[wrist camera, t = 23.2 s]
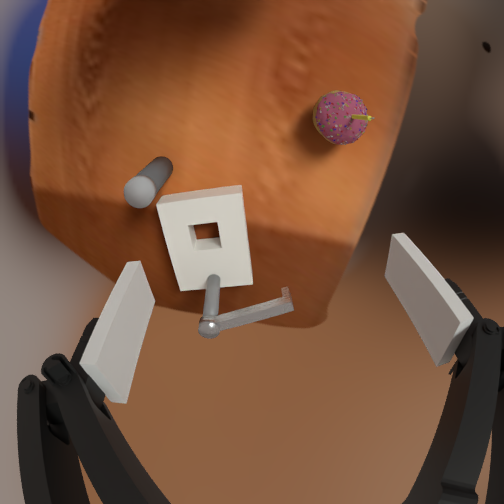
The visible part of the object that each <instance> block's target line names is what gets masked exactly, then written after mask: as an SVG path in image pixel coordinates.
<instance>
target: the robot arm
mask: <svg viewBox="0 0 504 504" xmlns="http://www.w3.org/2000/svg"><path fill="white" fill-rule="evenodd" d="M385 278H386V279H387V281H388V283H389V284H390V286H391V287H392V289H393V290H394V292H395V294H396V295H397V297H398V299H399V300H400V302H401V304H402V305H403V307H404V309H405V310H406V312H407V314H408V315H409V317H410V319H411V321H412V322H413V324H414V326H415V328H416V329H417V331H418V333H419V335H420V337H421V338H422V340H423V342H424V344H425V346H426V348H427V350H428V351H429V353H430V355H431V357H432V359H433V361H434V363H435V365H436V367H437V366H440V365H443V364H446V363H448V362H450V360H451V358H452V356H453V355H454V354H455V355H456V357H457V358H458V359H457V361H456V362H455V364H454V365H453V367H452V369H451V370H450V372H449V374H450V375H451V373H452V372H453V375H452V379H451V384H450V388H449V391H448V395H447V399H446V402H445V406H444V409H443V412H442V416H441V419H440V422H439V425H438V428H437V430H436V433H435V436H434V439H433V441H432V444H431V447H430V449H429V452H428V454H427V457H426V459H425V461H424V464H423V466H422V468H421V470H420V473H419V475H418V477H417V479H416V481H415V483H414V485H413V487H412V489H411V491H410V493H409V495H408V497H407V498H406V500H405V501H404V502H403V503H402V504H477V503H478V495H477V494H476V492H475V487H476V484H477V480H478V478H479V475H480V472H481V468H482V465H483V462H484V458H485V455H486V451H487V447H488V443H489V439H490V435H491V430H492V449H491V464H490V474H489V482H488V489H487V496H486V502H485V504H504V327H499V325H498V324H497V323H496V322H495V321H493V320H491V319H487V318H484V319H483V318H482V317H481V315H480V314H479V313H478V311H477V310H476V309H475V307H474V306H473V304H472V303H471V302H470V300H469V299H467V297H466V295H465V294H464V293H462V290H461V289H460V288H459V287H458V285H457V284H455V283H454V282H452V281H451V280H450V279H444V278H443V277H442V276H441V275H440V273H439V272H438V271H437V270H436V269H435V267H434V266H433V265H432V264H431V263H430V262H429V260H428V259H427V258H426V257H425V256H424V255H423V253H421V251H420V250H419V249H418V248H417V247H416V246H415V245H414V244H413V242H412V241H411V240H410V239H409V238H408V237H407V236H406V235H405V234H404V233H400V234H392V238H391V244H390V250H389V256H388V261H387V267H386V271H385ZM154 303H155V300H154V297H153V294H152V292H151V289H150V287H149V284H148V281H147V279H146V276H145V273H144V270H143V267H142V265H141V262H140V261H133V262H127V264H126V266H125V267H124V269H123V271H122V273H121V275H120V277H119V279H118V281H117V283H116V285H115V287H114V289H113V290H112V292H111V294H110V296H109V299H108V301H107V303H106V305H105V307H104V309H103V311H102V313H101V315H100V317H99V318H93V319H92V320H91V321H90V322H89V324H88V325H87V326H86V328H85V330H84V332H83V336H81V338H80V341H79V343H78V345H77V347H76V350H75V352H74V354H73V356H72V359H71V361H70V362H69V361H68V360H67V358H66V357H65V356H64V355H63V354H54V355H51V356H50V357H48V358H47V359H46V360H45V362H44V363H43V365H42V369H41V373H42V375H43V376H44V377H45V378H46V379H47V380H46V381H40V380H39V379H38V378H37V376H35V375H28V376H26V377H25V378H24V379H23V380H22V381H21V382H20V384H19V388H18V401H17V435H18V437H17V438H18V455H19V466H20V475H21V482H22V489H23V494H24V500H25V504H90V502H89V498H88V495H87V492H86V488H85V484H84V480H83V476H82V472H81V468H80V463H79V459H80V461H81V463H82V465H83V467H84V469H85V471H86V473H87V475H88V477H89V479H90V481H91V482H92V485H93V487H94V488H95V490H96V492H97V494H98V496H99V497H100V499H101V501H102V502H103V504H171V503H170V502H169V501H168V499H167V498H166V497H165V496H164V494H163V493H162V492H161V491H160V489H159V488H158V487H157V485H156V484H155V483H154V482H153V480H152V479H151V477H150V476H149V475H148V473H147V472H146V470H145V469H144V467H143V466H142V465H141V463H140V462H139V460H138V458H137V457H136V455H135V454H134V452H133V451H132V449H131V448H130V446H129V444H128V443H127V441H126V440H125V438H124V436H123V434H122V433H121V431H120V430H119V428H118V426H117V424H116V422H115V421H114V419H113V417H112V415H111V413H110V411H109V409H108V408H107V406H106V404H105V403H104V402H103V401H104V397H105V395H106V396H107V397H108V399H109V400H110V401H111V402H118V403H127V399H128V395H129V391H130V387H131V383H132V379H133V375H134V371H135V368H136V364H137V360H138V356H139V353H140V350H141V346H142V343H143V339H144V336H145V332H146V329H147V325H148V322H149V319H150V316H151V313H152V310H153V306H154ZM78 456H79V459H78Z"/></svg>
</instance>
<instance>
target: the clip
mask: <svg viewBox="0 0 504 504" xmlns="http://www.w3.org/2000/svg"><path fill="white" fill-rule="evenodd" d="M281 290H282V295H283V297H281V298H278V299H274V300H271V301H268V302H264V303H261V304H257V305H254V306H250V307H247V308H243V309H240V310H236V311H233V312H229V313H225V314H222V315H218V316H213V315H205V316H203V317H201V318H200V321H199V329H198V331H199V334H200V335H201V336H203V337H205V338H215V337H217V336H218V335H219V331H221V330H225V329H229V328H233V327H237V326H240V325H244V324H248V323H252V322H255V321H259V320H263V319H266V318H270V317H273V316H277V315H280V314H283V313H287V312H290V311H294V308H293V303H292V299H291V294H290V292H289V289H288V286H287V287H284V288H281Z"/></svg>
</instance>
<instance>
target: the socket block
mask: <svg viewBox="0 0 504 504" xmlns="http://www.w3.org/2000/svg"><path fill="white" fill-rule="evenodd" d="M156 206H157V210H158V214H159V218H160V221H161V225H162V229H163V233H164V236H165V240H166V244H167V247H168V251H169V254H170V258H171V261H172V265H173V268H174V271H175V275H176V278H177V281H178V285H179V288H180V291H186V290H198V289H206V295H205V302H204V310H203V316H205V315H213V316H218V308H219V294H220V287H231V286H241V285H251V284H253V278H252V267H251V259H250V251H249V242H248V234H247V226H246V218H245V210H244V201H243V193H242V185H236V186H228V187H220V188H212V189H204V190H197V191H190V192H183V193H177V194H170V195H164V196H162V197H161V198H160V200H159V201H158V203H157V204H156ZM212 222H217V223H218V228H219V234H220V237H217V238H208V239H199V240H196V235H195V231H194V226H193V225H196V224H204V223H212Z"/></svg>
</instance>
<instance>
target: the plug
mask: <svg viewBox="0 0 504 504" xmlns="http://www.w3.org/2000/svg"><path fill="white" fill-rule="evenodd" d="M172 171H173V165H172V162H171V161H170V160H169V159H168V158H166V157H157V158H155V159H154V160H153V161H152V162H150V163H149V164H148V165H147V166H146V167H145V168H144V169H143V170H141V171H140V172H139V173H138V174H137V175H136V176H134V177H133V178H132V179H131V180H129V181H128V182H127V184H126V185H125V188H124V196H125V199H126V201H127V202H128V203H129V204H130V205H131V206H133V207H135V208H144V207H146V206H148V205H149V204H150V203H151V202H152V200H153V199H154V197H155V195H156V194H157V192H158V191H159V190H160V188H161V187H162V186H163V184H164V183H165V182H166V180H167V179H168V178H169V176H170V175H171V174H172Z"/></svg>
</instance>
